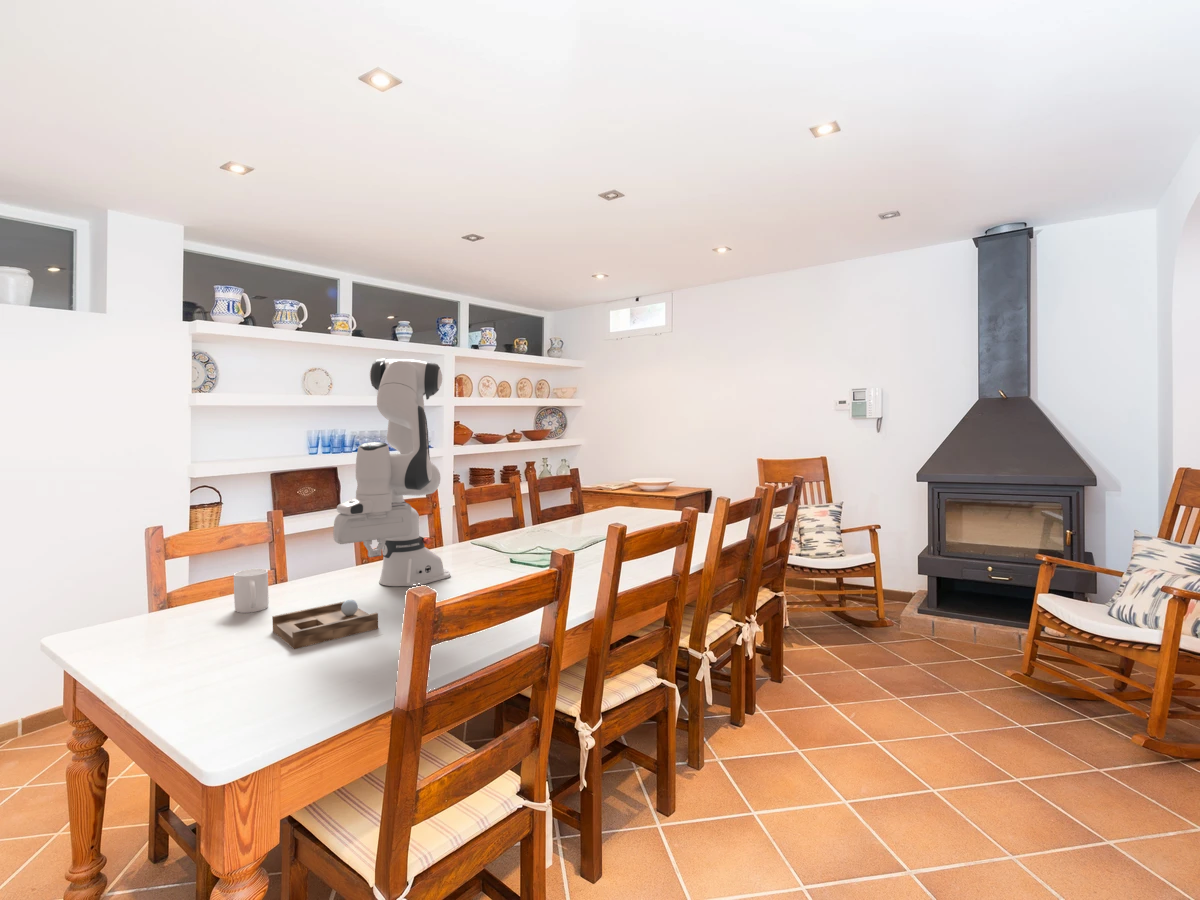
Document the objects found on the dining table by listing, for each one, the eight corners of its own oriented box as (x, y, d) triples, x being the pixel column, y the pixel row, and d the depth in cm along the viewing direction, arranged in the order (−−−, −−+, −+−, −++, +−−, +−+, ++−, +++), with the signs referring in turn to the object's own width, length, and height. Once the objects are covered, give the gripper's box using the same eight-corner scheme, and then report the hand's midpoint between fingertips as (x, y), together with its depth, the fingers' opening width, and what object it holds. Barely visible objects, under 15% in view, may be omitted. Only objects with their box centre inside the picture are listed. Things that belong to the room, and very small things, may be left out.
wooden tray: (352, 613, 168) (352, 599, 168) (378, 628, 156) (378, 613, 156) (272, 631, 154) (272, 616, 154) (294, 649, 142) (293, 632, 142)
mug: (270, 614, 168) (269, 576, 167) (235, 619, 163) (234, 580, 163) (267, 602, 178) (266, 567, 177) (234, 607, 173) (233, 571, 173)
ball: (354, 611, 162) (353, 596, 162) (360, 615, 159) (360, 600, 159) (338, 615, 159) (338, 599, 159) (344, 618, 156) (344, 603, 156)
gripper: (405, 499, 172) (406, 549, 172) (330, 506, 158) (331, 560, 158) (416, 501, 167) (417, 552, 168) (339, 509, 153) (340, 564, 154)
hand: (374, 556), depth 163 cm, fingers closed
